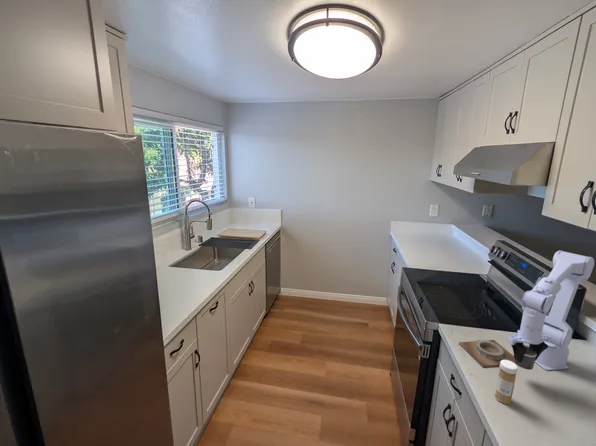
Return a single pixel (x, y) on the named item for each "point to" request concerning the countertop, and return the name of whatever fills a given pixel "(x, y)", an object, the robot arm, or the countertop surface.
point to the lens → (528, 359)
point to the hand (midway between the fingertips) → (524, 359)
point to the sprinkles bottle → (506, 381)
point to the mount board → (482, 359)
